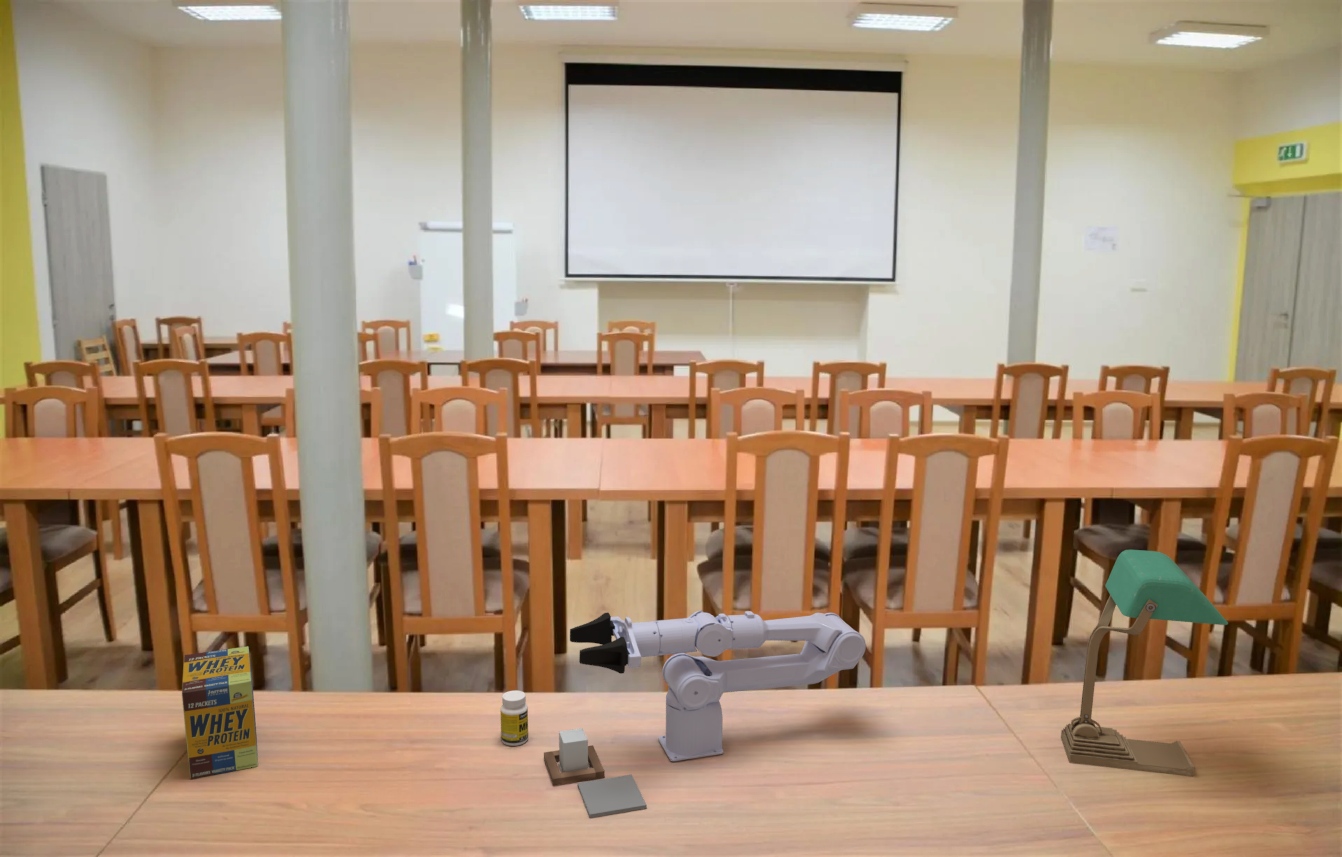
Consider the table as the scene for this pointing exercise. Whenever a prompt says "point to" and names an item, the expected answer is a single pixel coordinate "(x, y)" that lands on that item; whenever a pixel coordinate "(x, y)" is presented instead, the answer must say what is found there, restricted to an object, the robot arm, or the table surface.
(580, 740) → the block
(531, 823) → the table surface
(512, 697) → the supplement bottle
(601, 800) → the coaster
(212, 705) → the protein box
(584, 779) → the holder
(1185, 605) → the banker's lamp
